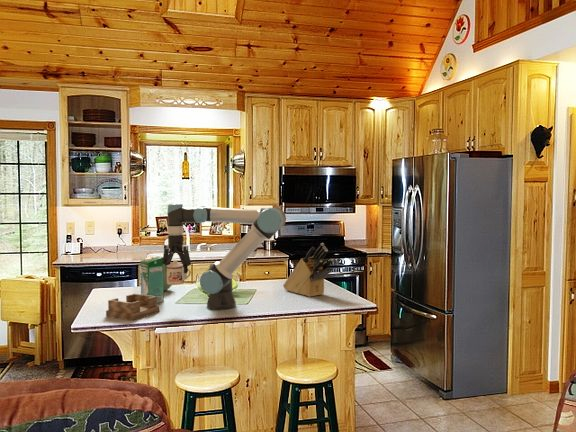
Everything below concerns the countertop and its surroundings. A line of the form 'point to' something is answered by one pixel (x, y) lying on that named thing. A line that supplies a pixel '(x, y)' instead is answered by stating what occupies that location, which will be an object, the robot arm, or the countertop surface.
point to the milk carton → (152, 277)
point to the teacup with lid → (175, 273)
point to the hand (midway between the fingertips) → (176, 278)
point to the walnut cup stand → (132, 307)
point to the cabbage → (165, 279)
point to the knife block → (310, 273)
